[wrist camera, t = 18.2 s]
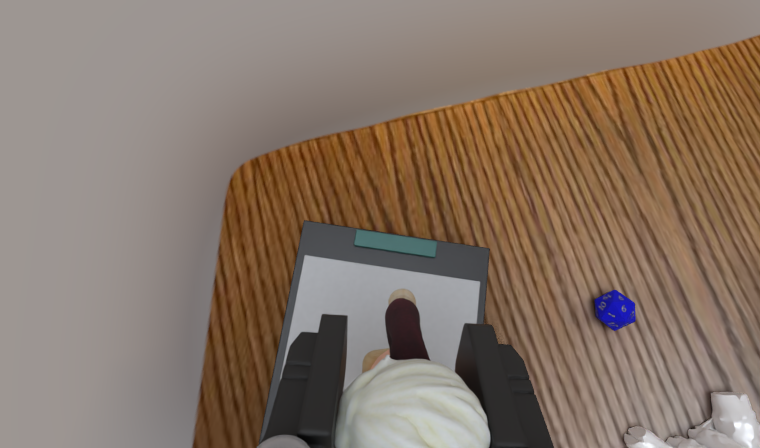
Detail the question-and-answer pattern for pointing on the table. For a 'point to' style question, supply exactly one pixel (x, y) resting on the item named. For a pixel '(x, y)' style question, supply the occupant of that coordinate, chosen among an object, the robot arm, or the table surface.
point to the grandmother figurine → (408, 394)
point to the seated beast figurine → (710, 427)
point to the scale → (380, 292)
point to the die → (615, 310)
